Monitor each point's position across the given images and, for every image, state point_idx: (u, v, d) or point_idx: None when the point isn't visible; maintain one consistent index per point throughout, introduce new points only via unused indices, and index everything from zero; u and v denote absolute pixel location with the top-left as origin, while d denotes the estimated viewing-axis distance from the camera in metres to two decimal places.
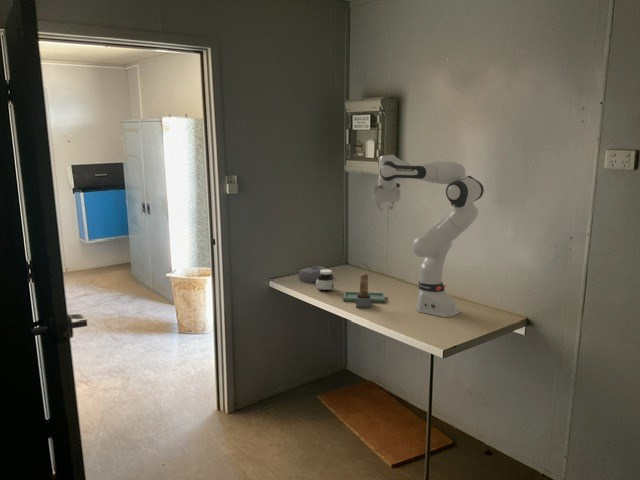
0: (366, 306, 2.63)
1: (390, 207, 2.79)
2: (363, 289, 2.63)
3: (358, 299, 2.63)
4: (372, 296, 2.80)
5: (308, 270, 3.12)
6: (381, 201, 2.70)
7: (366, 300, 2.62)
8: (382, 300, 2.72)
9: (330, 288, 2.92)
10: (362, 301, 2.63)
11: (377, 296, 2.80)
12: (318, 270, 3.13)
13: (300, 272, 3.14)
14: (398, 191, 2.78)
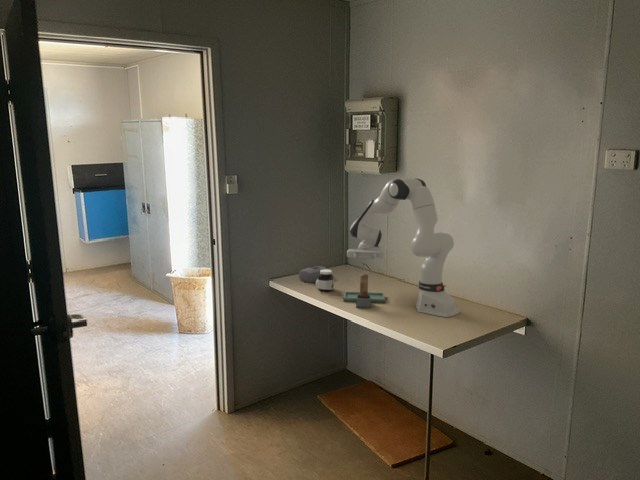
0: (366, 306, 2.63)
1: None
2: (363, 289, 2.63)
3: (358, 299, 2.63)
4: (372, 296, 2.80)
5: (308, 270, 3.12)
6: (354, 251, 2.80)
7: (366, 300, 2.62)
8: (382, 300, 2.72)
9: (330, 288, 2.92)
10: (362, 301, 2.63)
11: (377, 296, 2.80)
12: (318, 270, 3.13)
13: (300, 272, 3.14)
14: (379, 249, 2.83)
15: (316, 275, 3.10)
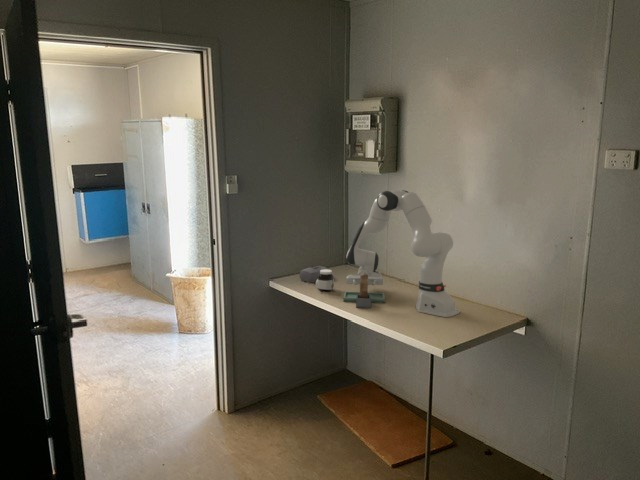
0: (366, 306, 2.63)
1: (372, 283, 2.73)
2: (363, 289, 2.63)
3: (358, 299, 2.63)
4: (372, 296, 2.80)
5: (309, 270, 3.13)
6: (353, 277, 2.78)
7: (366, 300, 2.62)
8: (382, 300, 2.72)
9: (330, 288, 2.92)
10: (362, 301, 2.63)
11: (377, 296, 2.80)
12: (319, 270, 3.13)
13: (301, 272, 3.15)
14: (379, 275, 2.81)
15: (316, 275, 3.10)
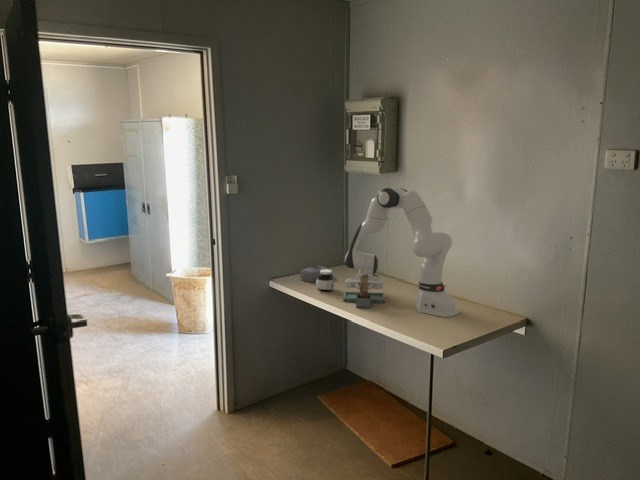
0: (366, 306, 2.63)
1: None
2: (363, 289, 2.63)
3: (358, 299, 2.63)
4: (372, 296, 2.80)
5: (309, 270, 3.13)
6: (352, 281, 2.70)
7: (366, 300, 2.62)
8: (382, 300, 2.72)
9: (330, 288, 2.92)
10: (362, 301, 2.63)
11: (377, 296, 2.80)
12: (319, 270, 3.14)
13: (301, 272, 3.15)
14: (379, 279, 2.73)
15: (317, 275, 3.10)
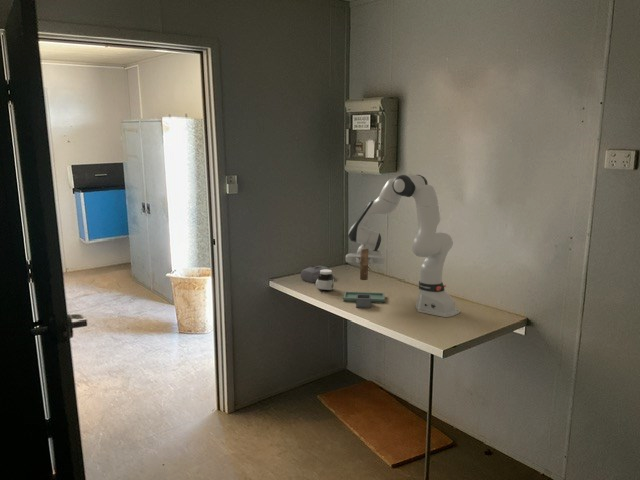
0: (366, 306, 2.63)
1: (368, 261, 2.65)
2: (363, 263, 2.63)
3: (358, 299, 2.63)
4: (372, 296, 2.80)
5: (310, 270, 3.13)
6: (353, 256, 2.70)
7: (366, 300, 2.62)
8: (382, 300, 2.72)
9: (330, 288, 2.92)
10: (362, 301, 2.63)
11: (377, 296, 2.80)
12: None
13: (302, 272, 3.15)
14: (379, 254, 2.73)
15: (318, 275, 3.11)
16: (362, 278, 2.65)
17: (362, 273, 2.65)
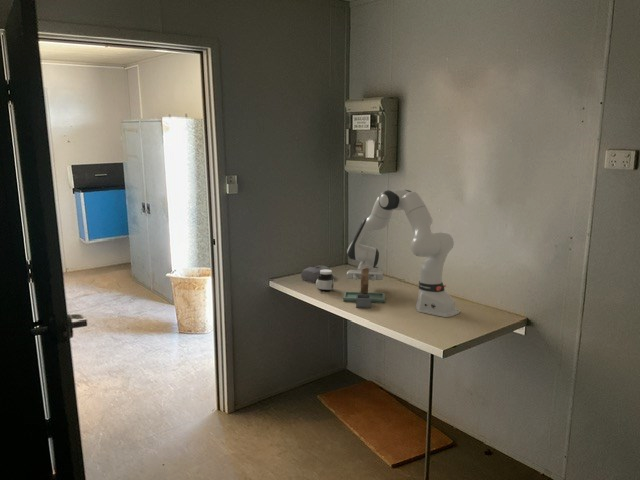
0: (366, 306, 2.63)
1: (371, 278, 2.77)
2: (364, 282, 2.75)
3: (358, 299, 2.63)
4: (372, 296, 2.80)
5: (311, 269, 3.14)
6: (353, 272, 2.81)
7: (366, 300, 2.62)
8: (382, 300, 2.72)
9: (330, 288, 2.92)
10: (362, 301, 2.63)
11: (377, 296, 2.80)
12: (321, 269, 3.15)
13: (303, 272, 3.15)
14: (379, 270, 2.84)
15: (319, 274, 3.12)
16: None
17: (362, 291, 2.76)
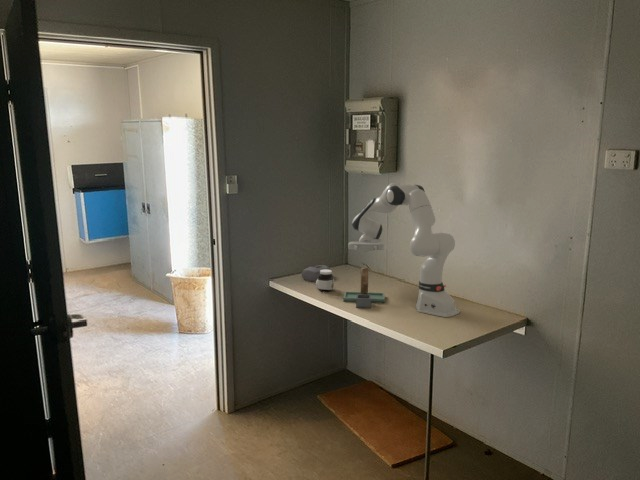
0: (366, 306, 2.63)
1: (372, 248, 2.86)
2: (364, 282, 2.75)
3: (358, 299, 2.63)
4: (372, 296, 2.80)
5: (312, 269, 3.14)
6: (355, 243, 2.91)
7: (366, 300, 2.62)
8: (382, 300, 2.72)
9: (330, 288, 2.92)
10: (362, 301, 2.63)
11: (377, 296, 2.80)
12: (322, 269, 3.16)
13: (304, 271, 3.16)
14: (379, 241, 2.94)
15: None
16: None
17: (362, 291, 2.76)
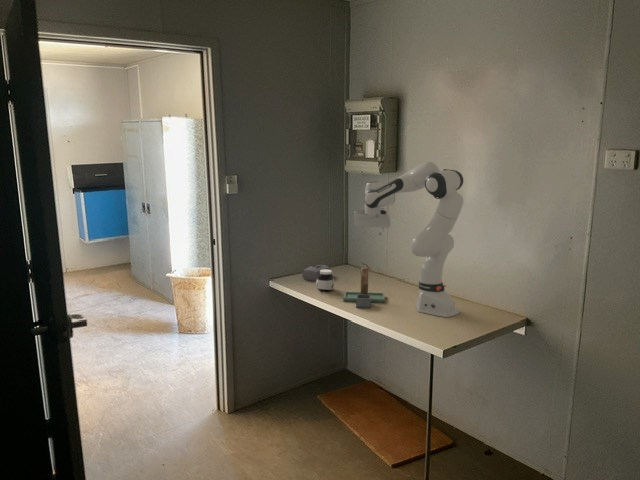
0: (366, 306, 2.63)
1: (379, 233, 2.85)
2: (364, 282, 2.75)
3: (358, 299, 2.63)
4: (372, 296, 2.80)
5: (313, 269, 3.15)
6: (361, 225, 2.84)
7: (366, 300, 2.62)
8: (382, 300, 2.72)
9: (330, 288, 2.92)
10: (362, 301, 2.63)
11: (377, 296, 2.80)
12: (322, 268, 3.17)
13: (304, 271, 3.16)
14: (386, 218, 2.81)
15: None
16: None
17: (362, 291, 2.76)
